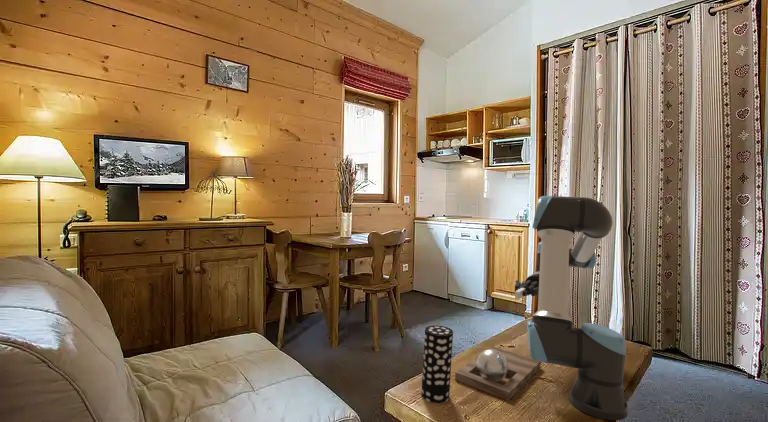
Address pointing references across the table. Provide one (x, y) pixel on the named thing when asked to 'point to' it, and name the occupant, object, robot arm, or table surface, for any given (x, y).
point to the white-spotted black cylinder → (437, 364)
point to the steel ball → (492, 365)
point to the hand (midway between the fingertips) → (517, 295)
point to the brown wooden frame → (517, 370)
